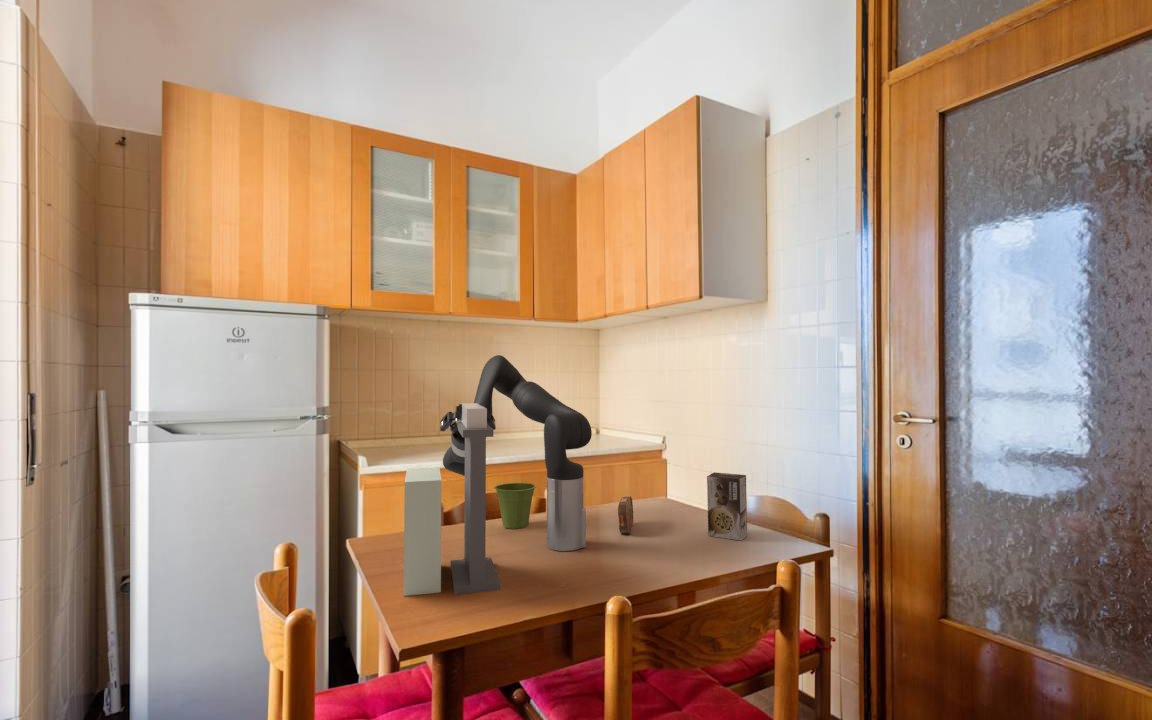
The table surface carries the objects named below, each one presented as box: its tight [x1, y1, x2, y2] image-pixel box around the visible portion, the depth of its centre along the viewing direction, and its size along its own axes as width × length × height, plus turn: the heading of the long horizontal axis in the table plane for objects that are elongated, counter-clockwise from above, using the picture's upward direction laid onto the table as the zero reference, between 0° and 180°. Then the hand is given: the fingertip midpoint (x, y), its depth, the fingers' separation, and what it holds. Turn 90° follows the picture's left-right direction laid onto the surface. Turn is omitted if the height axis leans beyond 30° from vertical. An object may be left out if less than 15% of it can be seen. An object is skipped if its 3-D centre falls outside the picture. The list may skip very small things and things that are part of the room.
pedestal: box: [403, 466, 443, 597], centre depth 115 cm, size 7×16×22 cm, turn 15°
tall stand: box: [450, 423, 501, 596], centre depth 116 cm, size 9×16×32 cm, turn 15°
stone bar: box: [461, 402, 487, 429], centre depth 123 cm, size 4×22×4 cm, turn 16°
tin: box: [617, 496, 634, 535], centre depth 153 cm, size 15×3×8 cm, turn 168°
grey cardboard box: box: [706, 472, 748, 541], centre depth 147 cm, size 9×6×16 cm
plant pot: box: [494, 482, 537, 530], centre depth 156 cm, size 12×12×11 cm
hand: (471, 407), depth 127 cm, fingers closed on stone bar, 4 cm apart
